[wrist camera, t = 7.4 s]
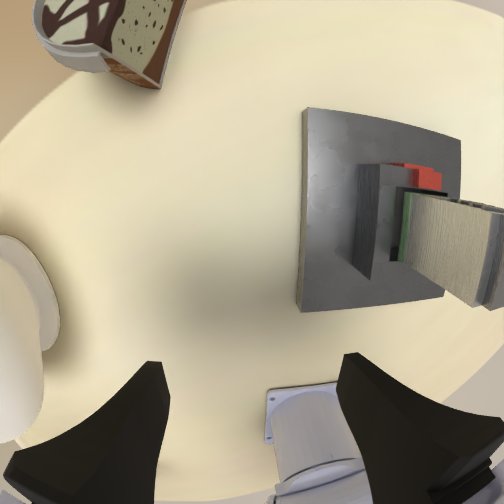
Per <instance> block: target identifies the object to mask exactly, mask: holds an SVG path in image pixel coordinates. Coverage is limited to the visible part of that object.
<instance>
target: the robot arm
mask: <svg viewBox="0 0 504 504" xmlns="http://www.w3.org/2000/svg"><path fill="white" fill-rule="evenodd" d="M272 397H274V398H272ZM169 407H170V393H169V390H168V386H167V382H166V378H165V374H164V370H163V366H162V362H154V361H147V362H146V363H145V364H144V365H143V366H142V367H141V368H140V369H139V370H138V371H137V372H136V373H135V374H134V375H133V376H132V378H131V379H130V380H129V381H128V382H127V383H126V384H125V385H124V386H123V387H122V388H121V389H120V390H119V391H118V392H117V393H116V394H115V395H114V396H113V397H112V398H111V399H110V400H109V401H107V402H106V403H105V404H104V405H103V406H102V407H101V408H100V409H98V410H97V411H96V412H95V413H94V414H92V415H91V416H90V417H88V418H87V419H85V420H84V421H83V422H81V423H80V424H78V425H76V426H75V427H73V428H71V429H70V430H68V431H66V432H64V433H63V434H61V435H59V436H57V437H55V438H53V439H51V440H48V441H46V442H43V443H41V444H38V445H36V446H32V447H29V448H26V449H22V450H19V451H15V452H14V454H13V456H12V458H11V460H10V462H9V463H8V466H7V468H6V470H5V472H4V474H3V476H4V478H5V480H6V481H7V482H8V483H9V484H10V485H11V486H12V487H13V488H15V489H16V490H17V491H18V492H20V493H21V494H22V495H23V496H25V497H26V498H27V499H29V500H30V501H31V502H32V504H154V490H155V477H156V468H157V462H158V458H159V454H160V449H161V445H162V441H163V437H164V433H165V429H166V425H167V421H168V415H169ZM264 441H265V444H274V448H275V454H276V460H277V466H278V472H279V479H280V482H281V483H279V484H276V485H275V489H276V494H274V495H271V496H269V498H268V499H267V501H266V503H265V504H504V460H503V461H501V462H500V463H499V464H498V465H497V466H495V468H493V469H492V470H491V469H490V468H489V466H490V465H491V464H492V461H491V460H490V458H489V457H490V456H491V455H492V454H493V453H494V452H495V450H497V448H498V447H499V446H500V445H501V444H502V443H503V442H504V422H503V421H502V420H501V418H500V417H491V416H483V415H476V414H472V413H468V412H463V411H460V410H456V409H453V408H450V407H448V406H445V405H442V404H440V403H437V402H435V401H433V400H431V399H428V398H426V397H424V396H422V395H420V394H418V393H417V392H415V391H413V390H411V389H410V388H408V387H406V386H405V385H403V384H402V383H400V382H399V381H397V380H396V379H394V378H393V377H391V376H390V375H388V374H387V373H386V372H384V371H383V370H381V369H380V368H379V367H377V366H376V365H375V364H373V363H372V362H371V361H369V360H368V359H366V358H365V357H364V356H362V355H361V354H359V353H358V352H356V353H350V354H344V357H343V362H342V366H341V370H340V374H339V378H338V382H335V383H329V384H322V385H314V386H306V387H297V388H287V389H275V390H270V391H268V393H267V405H266V423H265V439H264ZM355 441H356V442H355ZM357 446H358V447H357ZM358 448H359V449H358ZM360 453H361V454H360ZM0 504H25V503H24V502H22V501H20V500H19V499H17V498H16V497H14V496H13V495H11V494H10V493H8V492H6V491H5V490H2V492H1V494H0Z"/></svg>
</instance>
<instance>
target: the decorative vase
mask: <svg viewBox="0 0 504 504" xmlns="http://www.w3.org/2000/svg"><path fill="white" fill-rule="evenodd" d="M59 330H60V314H59V308H58V303H57V299H56V296H55V293H54V290H53V288H52V285H51V283H50V280H49V278H48V276H47V274H46V272H45V271H44V269H43V267H42V266H41V264H40V262H39V261H38V260H37V258H36V257H35V256H34V254H33V253H32V252H31V251H30V250H29V249H28V248H27V247H26V246H25V245H24V244H23V243H22V242H20V241H19V240H17V239H16V238H14V237H11V236H8V235H0V443H5V442H8V441H11V440H13V439H16V438H18V437H19V436H21V435H22V434H24V433H25V432H26V431H27V430H28V429H29V428H30V427H31V425H32V424H33V423H34V421H35V420H36V418H37V416H38V414H39V412H40V409H41V406H42V402H43V395H44V376H43V363H42V354H41V352H43V351H46V350H48V349H49V348H50V347H51V346H52V345H53V344H54V343H55V341H56V339H57V337H58V334H59Z"/></svg>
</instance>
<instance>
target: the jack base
mask: <svg viewBox="0 0 504 504" xmlns="http://www.w3.org/2000/svg"><path fill="white" fill-rule="evenodd" d="M460 183H461V140H458V139H455V138H453V137H450V136H446V135H443V134H440V133H437V132H434V131H430V130H427V129H423V128H420V127H416V126H412V125H408V124H404V123H400V122H396V121H391V120H387V119H382V118H377V117H372V116H367V115H361V114H355V113H349V112H342V111H335V110H327V109H319V108H309V107H307V108H306V109H305V110H304V111H303V112H302V201H301V231H300V252H299V270H298V286H297V300H296V304H297V306H298V308H299V310H300V312H316V311H329V310H341V309H352V308H362V307H371V306H380V305H388V304H396V303H404V302H411V301H418V300H425V299H432V298H438V297H443V296H444V292H445V289H444V288H442V287H441V286H439V285H438V284H436V283H435V282H433V281H432V280H430V279H428V278H427V277H425V276H424V275H422V274H421V273H419V272H417V271H416V270H414V269H413V268H411V267H409V266H408V265H406V264H402V263H401V262H399V261H397V260H398V253H399V246H400V238H401V229H402V219H403V208H404V193H405V192H412V193H420V194H428V195H436V196H443V197H450V198H455V199H460Z"/></svg>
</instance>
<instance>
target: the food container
mask: <svg viewBox="0 0 504 504" xmlns="http://www.w3.org/2000/svg"><path fill="white" fill-rule="evenodd" d="M186 1H187V0H35V2H34V6H33V11H32V23H33V26H34V29H35V32H36V35H37V38H38V40H39V42H40V43H41V44H42V45H43V46H44V48H45V49H46V50H47V51H48V52H49V53H50V55H51V56H52V57H53V58H54V59H55V60H56V61H57V62H59V63H61V64H62V65H64V66H65V67H68V68H71V69H74V70H77V71H84V72H92V73H96V72H112V73H114V74H116V75H118V76H120V77H122V78H124V79H126V80H128V81H130V82H132V83H134V84H136V85H139V86H142V87H146V88H152V89H161V86H162V82H163V78H164V74H165V70H166V66H167V62H168V58H169V54H170V51H171V47H172V44H173V40H174V37H175V34H176V30H177V27H178V24H179V21H180V18H181V15H182V12H183V9H184V6H185V4H186Z"/></svg>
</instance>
